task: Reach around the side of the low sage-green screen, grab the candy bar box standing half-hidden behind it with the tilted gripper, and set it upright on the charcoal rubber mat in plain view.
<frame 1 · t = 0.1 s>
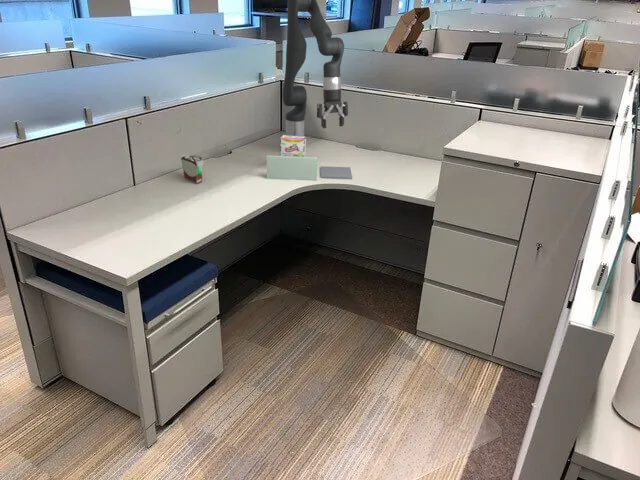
hand: (332, 127, 219), 22 cm above the table, tool pointing down, fingers open, 8 cm apart
candy bar box: (292, 172, 232), on the table
food container: (196, 180, 218), on the table
screen: (291, 178, 224), on the table
mat: (335, 173, 232), on the table
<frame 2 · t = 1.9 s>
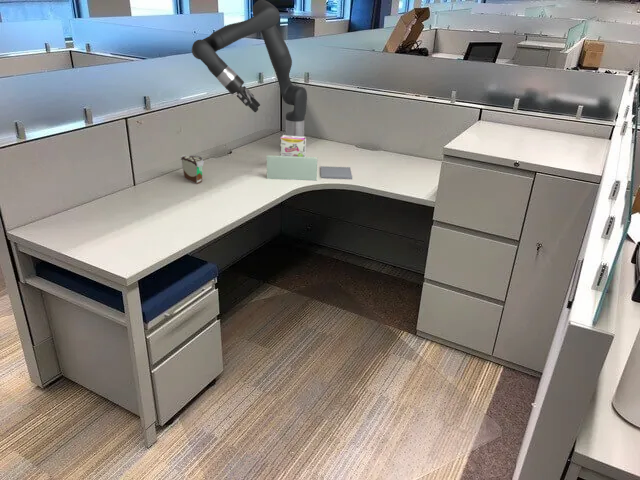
hand: (257, 108, 218), 28 cm above the table, tool tilted 45°, fingers open, 8 cm apart
nothing on the table moved.
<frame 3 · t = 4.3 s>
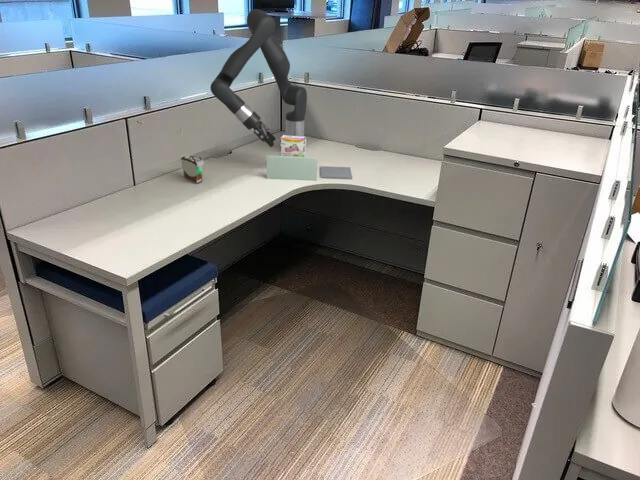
hand: (273, 143, 225), 13 cm above the table, tool tilted 45°, fingers open, 8 cm apart
nothing on the table moved.
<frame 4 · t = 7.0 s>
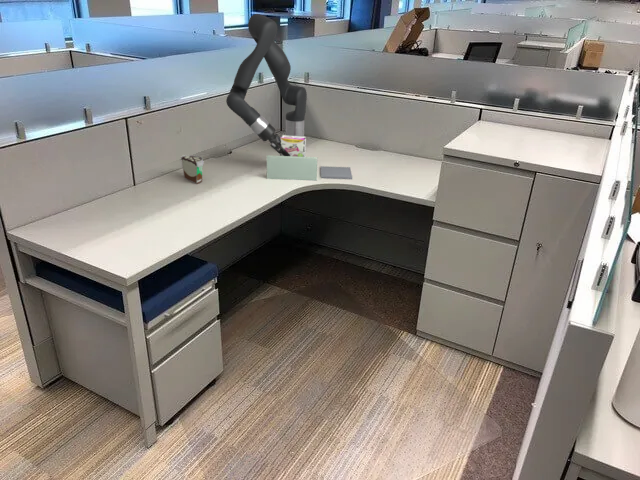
hand: (289, 155, 228), 8 cm above the table, tool tilted 45°, fingers closed on candy bar box, 5 cm apart
candy bar box: (292, 172, 232), on the table, touching gripper
everything else where it was.
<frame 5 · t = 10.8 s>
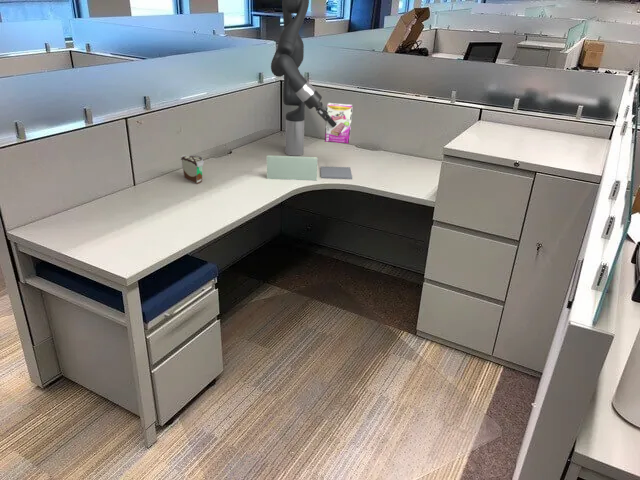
hand: (334, 124, 222), 23 cm above the table, tool tilted 45°, fingers closed on candy bar box, 5 cm apart
candy bar box: (337, 142, 225), point 15 cm above the table, touching gripper
everything else where it was.
when the fingers open (10 cm above the table, at t = 14.6 s): candy bar box drops 1 cm, resting on mat.
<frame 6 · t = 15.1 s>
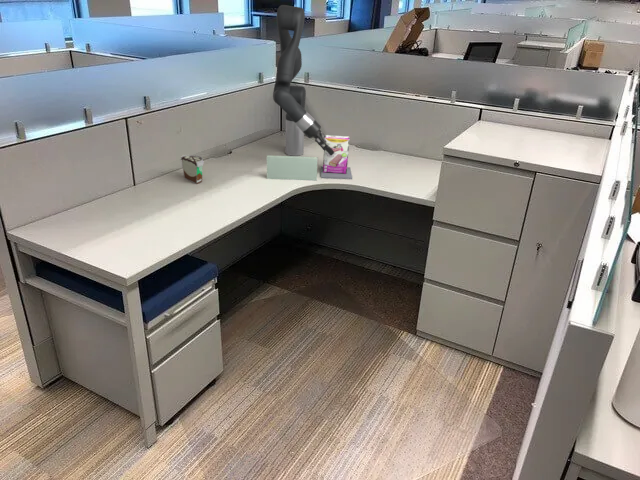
hand: (332, 151, 227), 11 cm above the table, tool tilted 45°, fingers open, 8 cm apart
candy bar box: (335, 172, 232), point 1 cm above the table, touching mat
everything else where it was.
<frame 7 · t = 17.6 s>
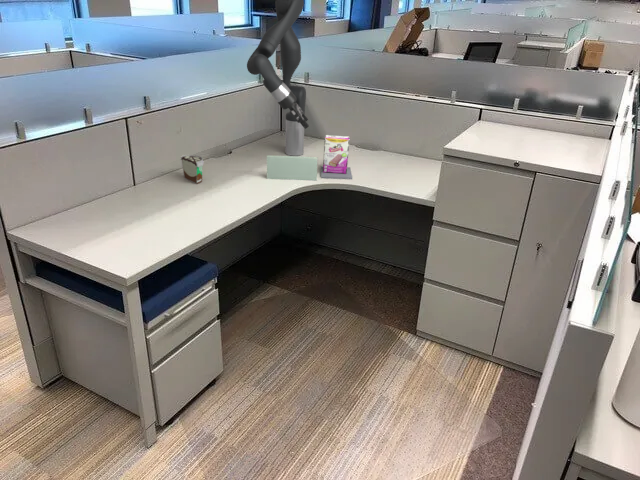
hand: (306, 124, 223), 22 cm above the table, tool tilted 40°, fingers open, 8 cm apart
nothing on the table moved.
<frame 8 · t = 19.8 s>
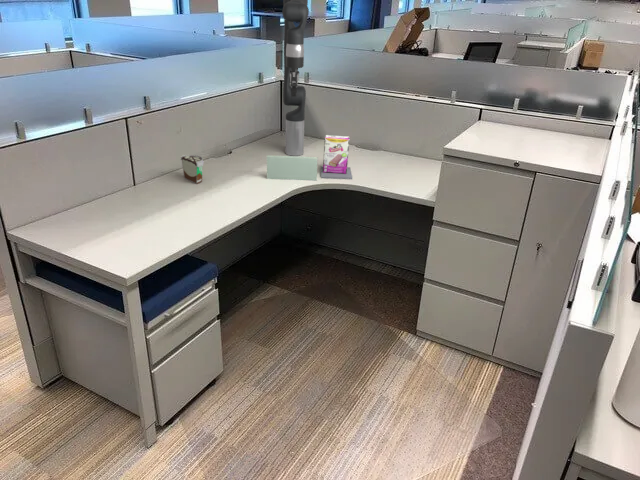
hand: (294, 94, 219), 34 cm above the table, tool pointing down, fingers open, 8 cm apart
nothing on the table moved.
at the end: candy bar box inside the target area on the mat (0.5 cm from its centre), point 0.6 cm above the mat's base; candy bar box tilted 0°; the gripper is holding nothing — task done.
